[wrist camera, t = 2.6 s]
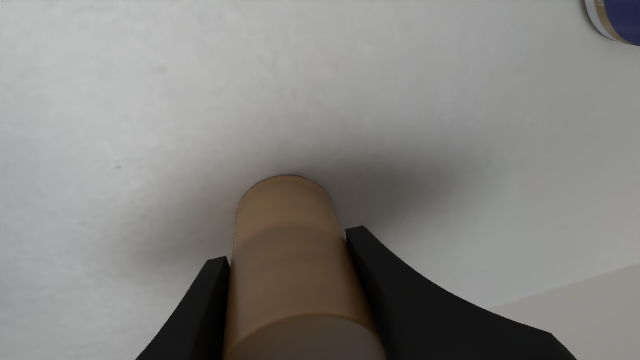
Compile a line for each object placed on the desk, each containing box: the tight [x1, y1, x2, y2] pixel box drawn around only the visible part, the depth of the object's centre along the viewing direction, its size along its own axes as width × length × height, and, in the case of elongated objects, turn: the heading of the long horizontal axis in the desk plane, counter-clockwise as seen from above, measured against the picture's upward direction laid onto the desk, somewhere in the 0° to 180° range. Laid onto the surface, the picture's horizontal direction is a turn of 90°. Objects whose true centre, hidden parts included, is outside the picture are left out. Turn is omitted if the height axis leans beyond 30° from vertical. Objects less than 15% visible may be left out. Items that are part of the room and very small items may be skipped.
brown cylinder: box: [221, 175, 387, 360], centre depth 12 cm, size 4×4×7 cm
